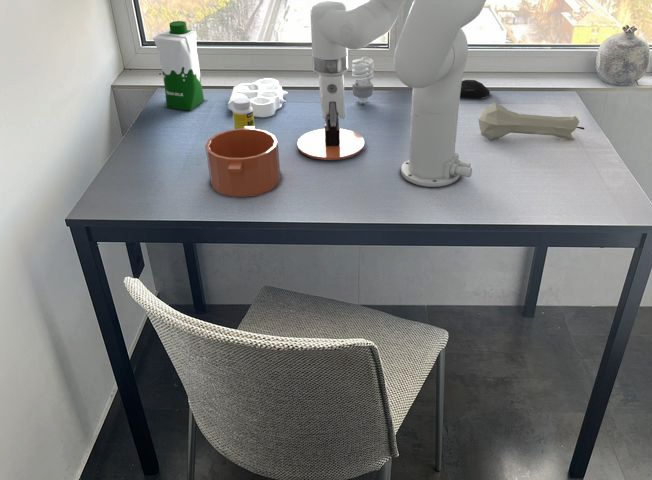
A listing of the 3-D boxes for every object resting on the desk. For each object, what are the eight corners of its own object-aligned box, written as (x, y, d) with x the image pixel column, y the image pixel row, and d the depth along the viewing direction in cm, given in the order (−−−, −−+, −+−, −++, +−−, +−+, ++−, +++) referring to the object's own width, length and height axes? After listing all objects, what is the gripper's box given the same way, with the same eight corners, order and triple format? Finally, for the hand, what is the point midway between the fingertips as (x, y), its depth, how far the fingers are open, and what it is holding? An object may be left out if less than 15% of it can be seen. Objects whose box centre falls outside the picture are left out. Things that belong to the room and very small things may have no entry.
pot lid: (364, 132, 163) (364, 110, 160) (364, 162, 151) (364, 139, 147) (300, 132, 163) (298, 110, 160) (294, 162, 151) (293, 139, 147)
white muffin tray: (235, 90, 185) (290, 90, 185) (226, 117, 170) (285, 117, 170) (234, 78, 183) (289, 78, 183) (225, 105, 168) (284, 104, 168)
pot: (284, 158, 152) (282, 123, 147) (273, 204, 136) (270, 166, 131) (220, 158, 152) (216, 122, 147) (202, 203, 136) (196, 165, 131)
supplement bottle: (251, 138, 160) (247, 104, 155) (232, 137, 161) (228, 103, 156) (257, 130, 164) (254, 97, 159) (239, 128, 165) (235, 95, 160)
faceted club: (472, 124, 164) (575, 129, 165) (476, 149, 159) (582, 153, 160) (479, 95, 157) (586, 100, 158) (483, 119, 152) (594, 124, 153)
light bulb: (360, 109, 174) (360, 63, 167) (347, 102, 178) (347, 56, 171) (377, 104, 177) (378, 58, 170) (365, 97, 181) (365, 52, 174)
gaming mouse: (434, 88, 186) (435, 74, 183) (489, 91, 184) (490, 77, 182) (432, 97, 181) (433, 82, 178) (489, 100, 179) (491, 86, 177)
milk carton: (209, 99, 179) (198, 22, 168) (191, 113, 173) (179, 33, 161) (179, 95, 182) (167, 19, 170) (161, 108, 175) (147, 29, 163)
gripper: (351, 76, 139) (351, 157, 150) (344, 50, 152) (345, 126, 163) (314, 77, 139) (317, 159, 149) (311, 51, 152) (314, 128, 162)
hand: (332, 141), depth 156 cm, fingers closed on pot lid, 2 cm apart
